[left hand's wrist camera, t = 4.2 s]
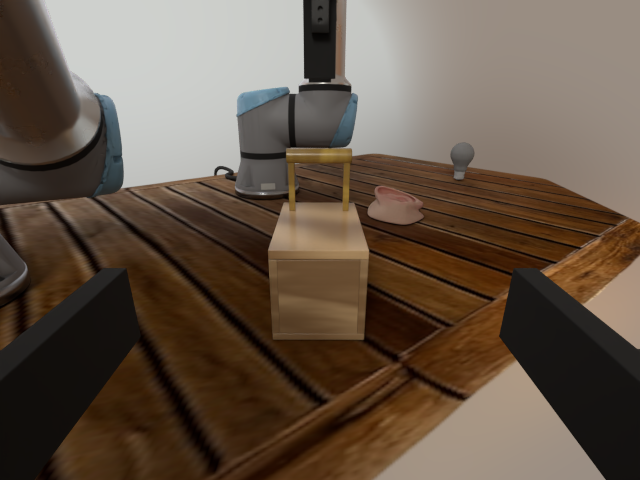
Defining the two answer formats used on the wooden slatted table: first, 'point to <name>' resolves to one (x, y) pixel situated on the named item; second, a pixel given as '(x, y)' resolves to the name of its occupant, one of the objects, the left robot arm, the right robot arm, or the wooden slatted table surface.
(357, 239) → the lid
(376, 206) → the anatomical model
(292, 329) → the chest
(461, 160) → the light bulb
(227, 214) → the wooden slatted table surface
